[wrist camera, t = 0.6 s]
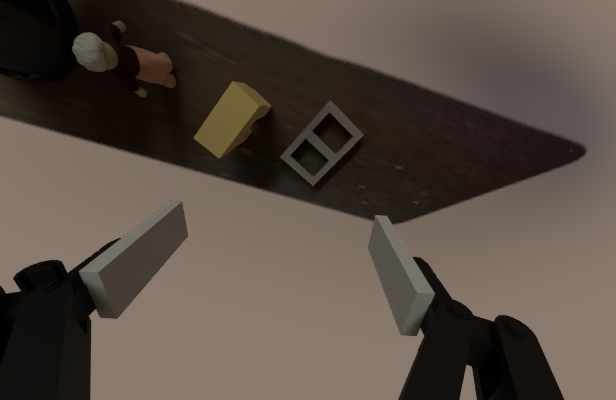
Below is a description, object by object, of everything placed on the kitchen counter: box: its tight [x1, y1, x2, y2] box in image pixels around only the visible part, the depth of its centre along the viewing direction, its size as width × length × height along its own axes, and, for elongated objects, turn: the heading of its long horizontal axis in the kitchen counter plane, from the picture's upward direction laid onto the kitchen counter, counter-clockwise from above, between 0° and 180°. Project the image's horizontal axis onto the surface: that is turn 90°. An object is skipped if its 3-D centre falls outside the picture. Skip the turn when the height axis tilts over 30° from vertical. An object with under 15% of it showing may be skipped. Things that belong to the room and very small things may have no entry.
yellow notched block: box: [194, 81, 272, 159], centre depth 30 cm, size 4×8×10 cm, turn 137°
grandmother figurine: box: [72, 21, 176, 97], centre depth 27 cm, size 8×4×13 cm, turn 14°
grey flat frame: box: [280, 100, 364, 186], centre depth 35 cm, size 7×11×2 cm, turn 137°
